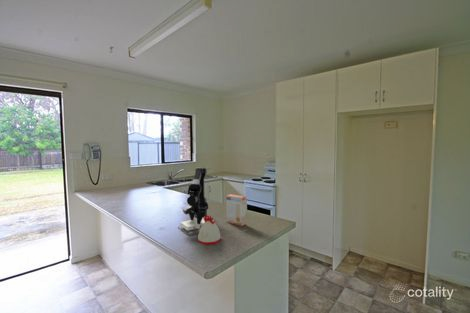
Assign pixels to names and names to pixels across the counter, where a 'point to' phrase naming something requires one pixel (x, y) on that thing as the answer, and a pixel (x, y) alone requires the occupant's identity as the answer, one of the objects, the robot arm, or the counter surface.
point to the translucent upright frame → (236, 209)
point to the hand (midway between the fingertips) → (195, 223)
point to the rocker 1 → (190, 225)
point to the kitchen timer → (209, 232)
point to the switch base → (190, 230)
